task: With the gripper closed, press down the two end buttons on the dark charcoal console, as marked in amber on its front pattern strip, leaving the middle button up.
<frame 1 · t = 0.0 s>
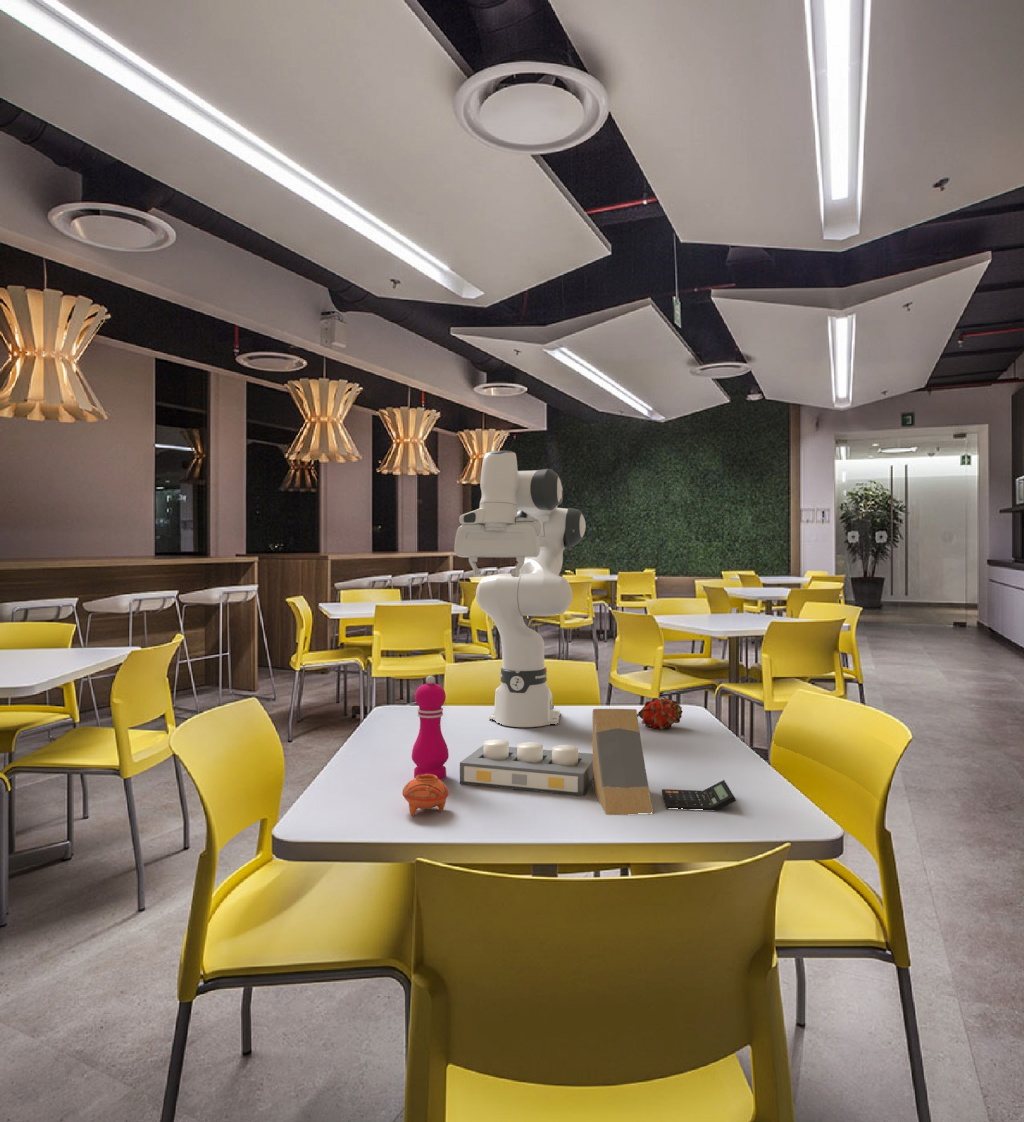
hand: (496, 576, 170), 39 cm above the table, tool pointing down, fingers open, 8 cm apart
sandwich container: (621, 801, 130), on the table
pot: (425, 812, 124), on the table
console: (530, 778, 143), on the table
button container side: (565, 759, 141), point 4 cm above the table, slide at 0.0 cm
pepper mill: (430, 778, 143), on the table
button middle: (530, 756, 143), point 4 cm above the table, slide at 0.0 cm
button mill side: (496, 753, 145), point 4 cm above the table, slide at 0.0 cm
calculator: (697, 804, 130), on the table
dragon fruit: (659, 729, 186), on the table
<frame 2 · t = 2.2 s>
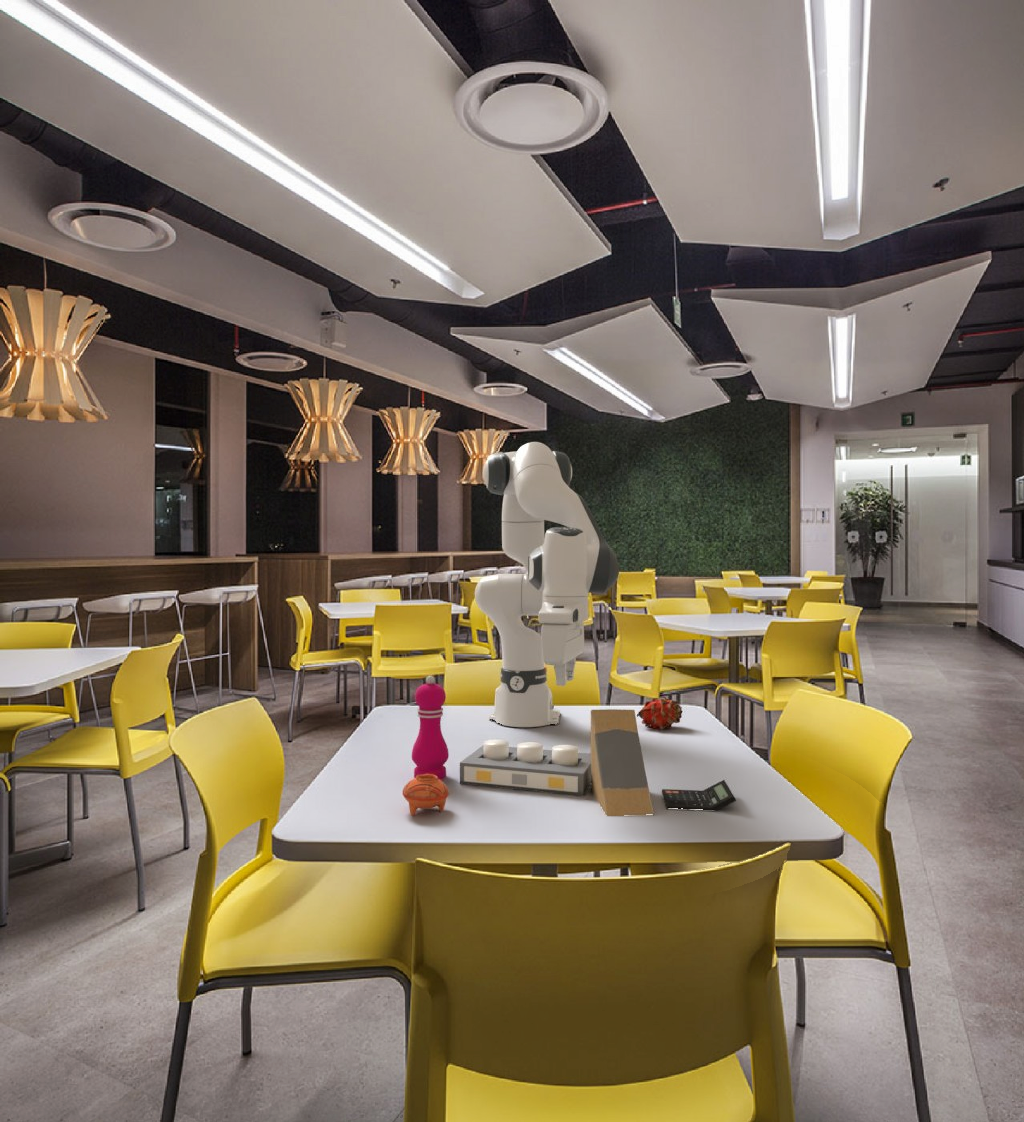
hand: (565, 682, 141), 19 cm above the table, tool pointing down, fingers open, 5 cm apart
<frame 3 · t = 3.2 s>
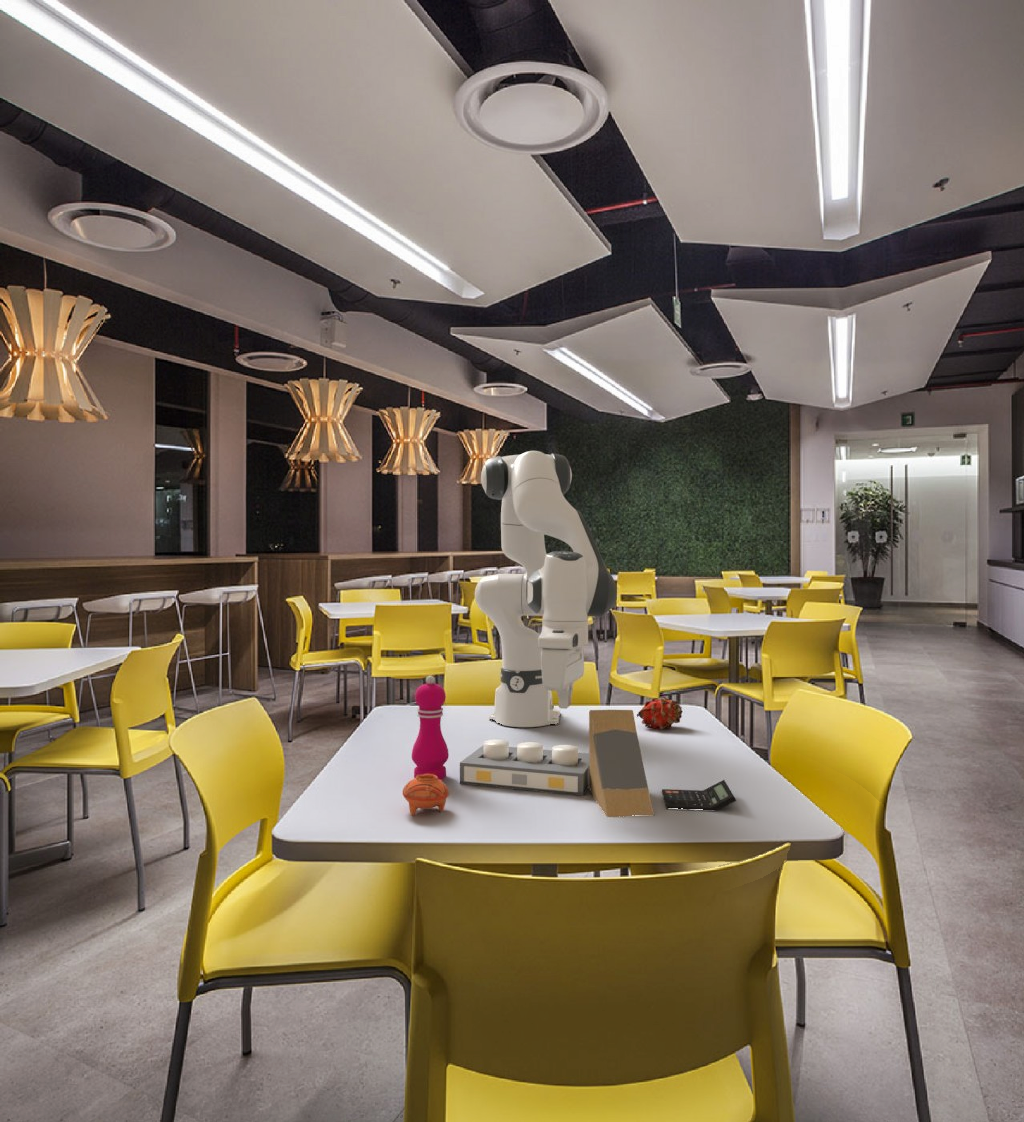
hand: (564, 707, 140), 14 cm above the table, tool pointing down, fingers closed
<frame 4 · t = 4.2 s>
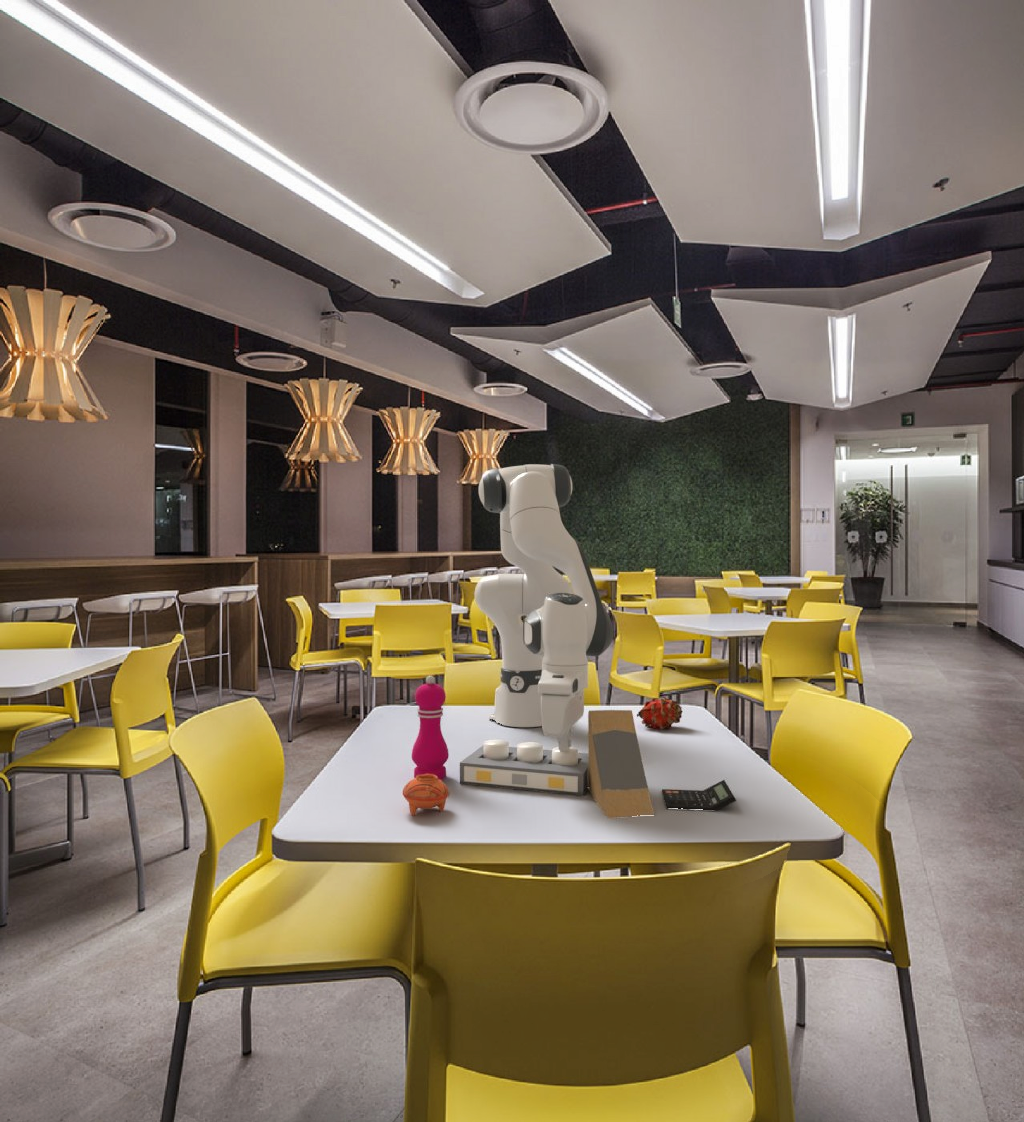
hand: (564, 749, 140), 6 cm above the table, tool pointing down, fingers closed, pressing on button container side
button container side: (565, 760, 141), point 4 cm above the table, slide at 0.3 cm, touching gripper
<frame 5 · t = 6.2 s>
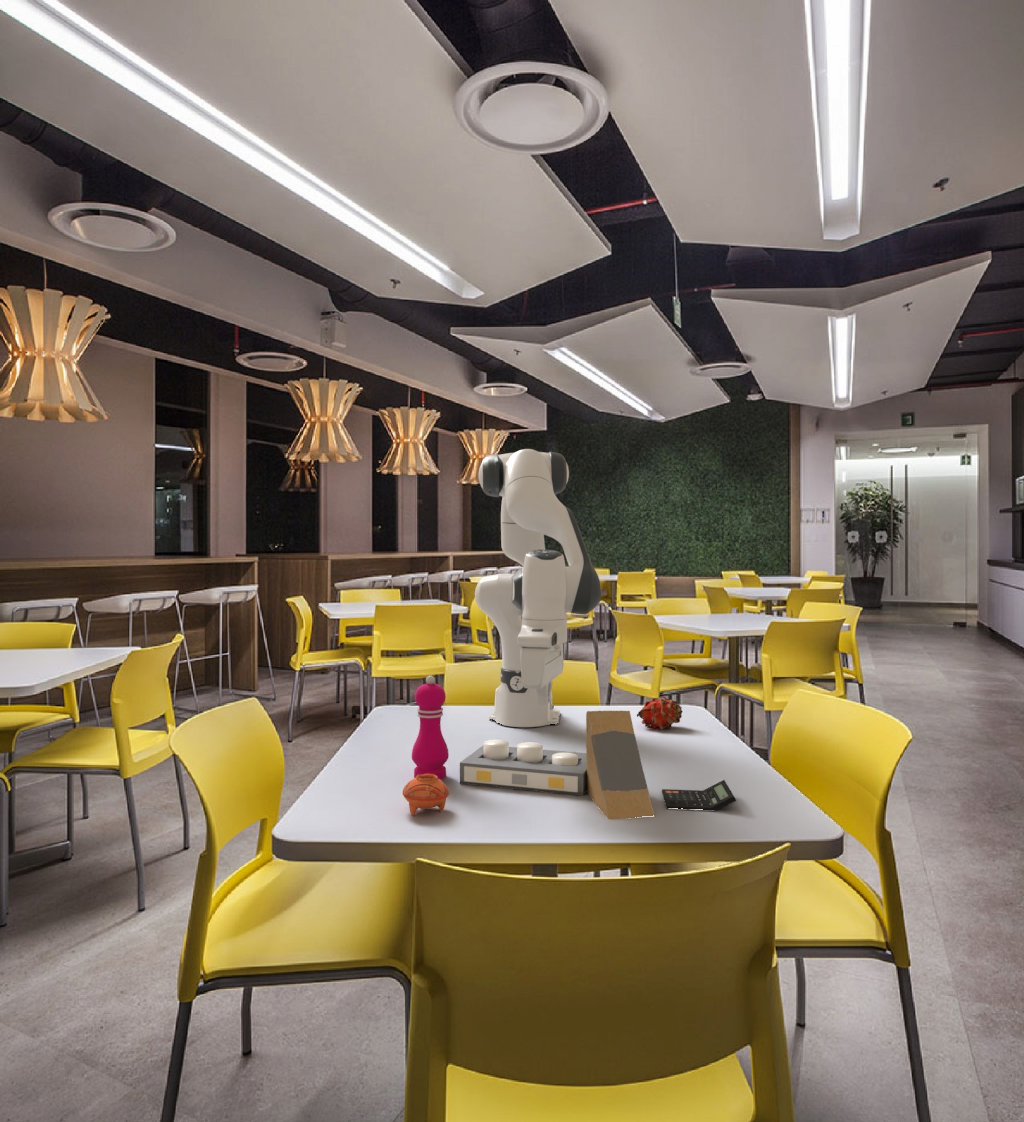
hand: (544, 704, 142), 15 cm above the table, tool pointing down, fingers closed
button container side: (565, 766, 141), point 3 cm above the table, slide at 1.5 cm
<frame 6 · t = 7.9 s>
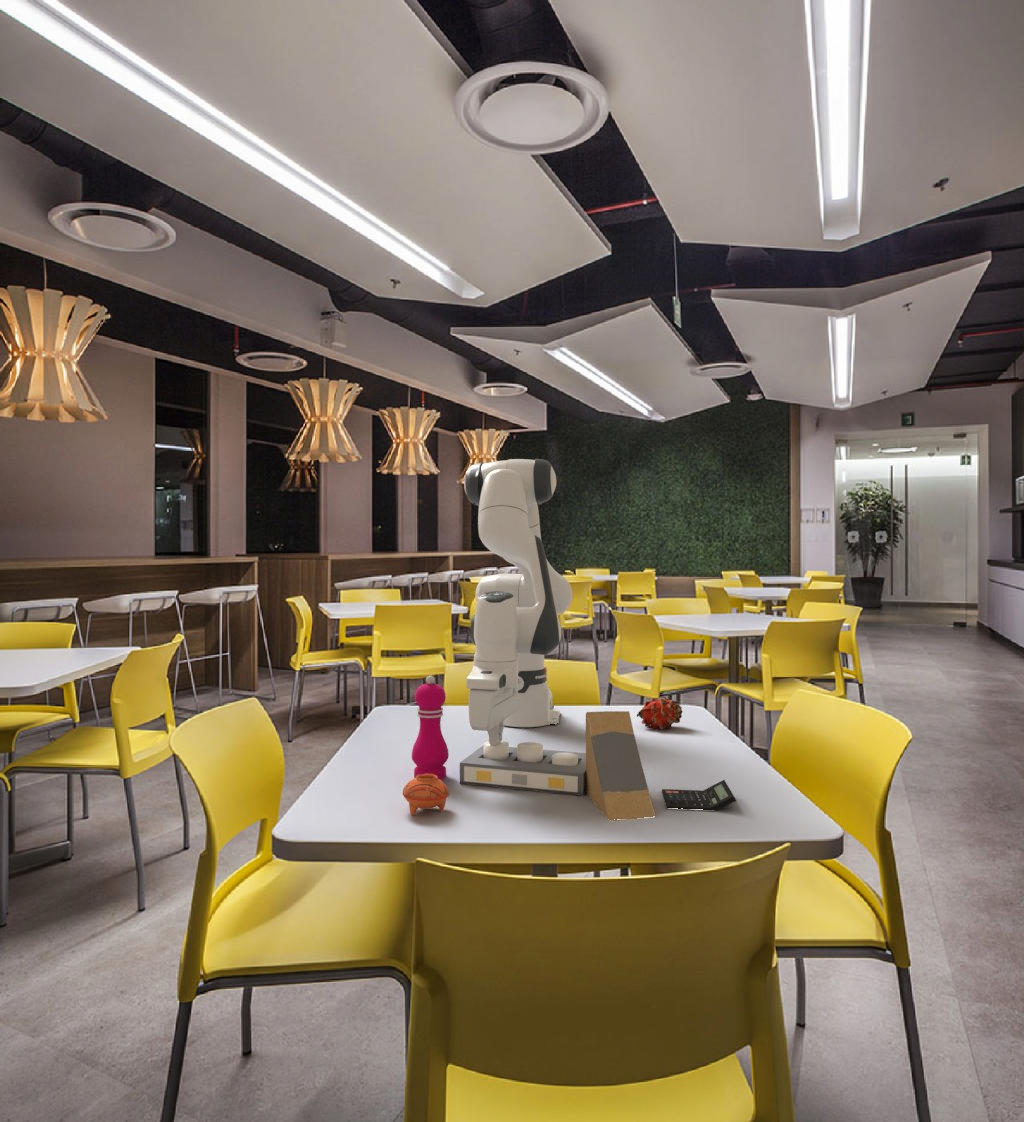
hand: (495, 743, 145), 6 cm above the table, tool pointing down, fingers closed, pressing on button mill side
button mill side: (496, 754, 145), point 4 cm above the table, slide at 0.2 cm, touching gripper
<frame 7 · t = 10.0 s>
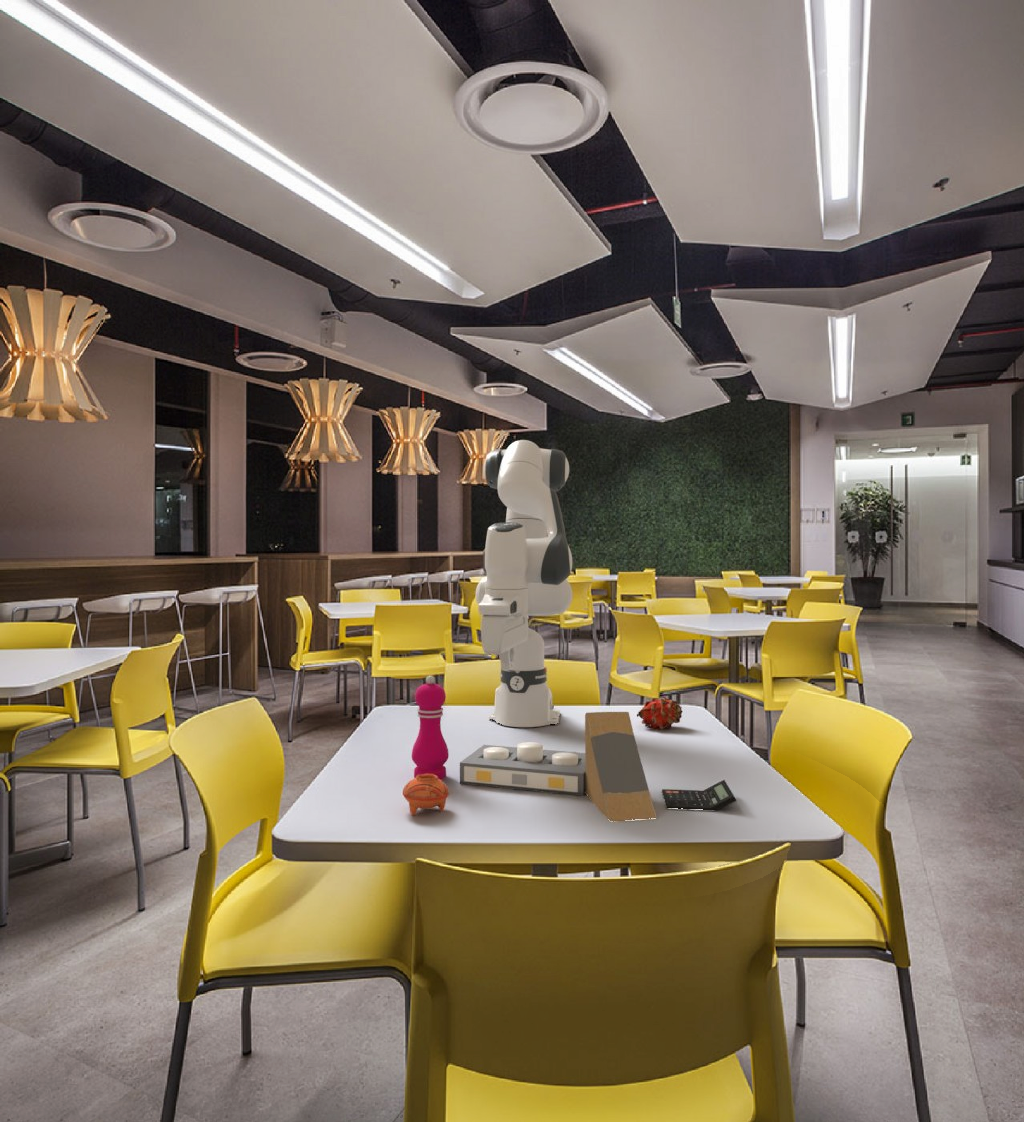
hand: (507, 669, 150), 20 cm above the table, tool pointing down, fingers closed
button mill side: (496, 760, 145), point 3 cm above the table, slide at 1.5 cm
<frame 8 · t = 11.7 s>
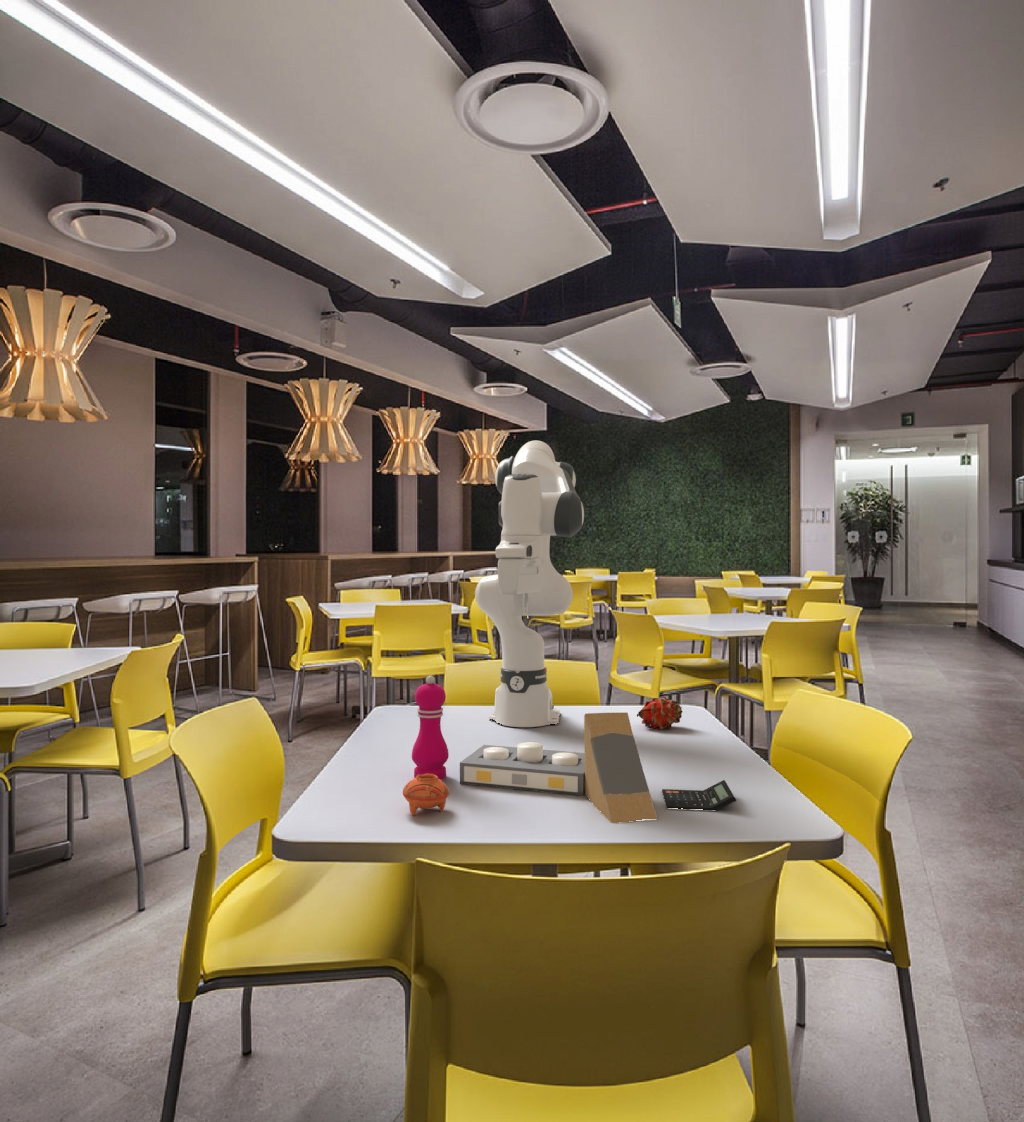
hand: (521, 614, 155), 31 cm above the table, tool pointing down, fingers closed
at the end: button container side slide at 1.5 cm; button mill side slide at 1.5 cm; button middle slide at 0.0 cm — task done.
